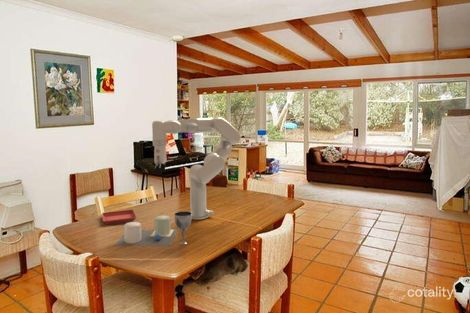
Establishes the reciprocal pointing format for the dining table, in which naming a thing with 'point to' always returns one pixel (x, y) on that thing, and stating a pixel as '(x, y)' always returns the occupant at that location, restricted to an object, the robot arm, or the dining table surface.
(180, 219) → the wine glass
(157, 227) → the sage cup
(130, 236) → the white cup
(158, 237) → the ball
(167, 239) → the mat
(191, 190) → the robot arm
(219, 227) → the dining table surface
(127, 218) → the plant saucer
